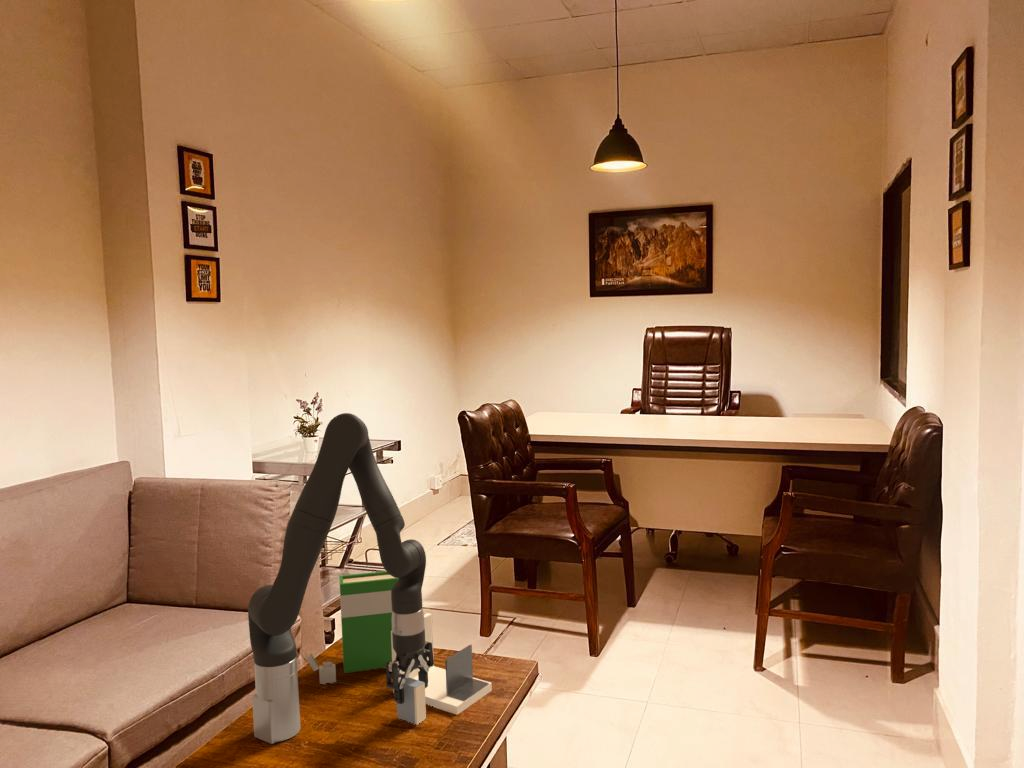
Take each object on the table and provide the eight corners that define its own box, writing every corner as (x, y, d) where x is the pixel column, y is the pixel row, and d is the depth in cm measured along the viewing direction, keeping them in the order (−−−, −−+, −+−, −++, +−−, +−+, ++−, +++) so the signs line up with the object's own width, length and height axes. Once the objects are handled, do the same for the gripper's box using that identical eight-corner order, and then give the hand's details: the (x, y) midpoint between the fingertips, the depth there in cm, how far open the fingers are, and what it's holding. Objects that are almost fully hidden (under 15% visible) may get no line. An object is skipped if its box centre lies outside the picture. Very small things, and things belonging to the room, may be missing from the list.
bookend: (464, 701, 188) (463, 664, 187) (446, 695, 191) (445, 659, 190) (489, 684, 196) (487, 649, 195) (471, 679, 199) (470, 644, 198)
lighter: (336, 679, 205) (334, 649, 205) (336, 682, 204) (334, 652, 203) (307, 683, 204) (306, 653, 203) (307, 686, 202) (306, 656, 201)
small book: (417, 725, 181) (415, 687, 180) (397, 718, 184) (395, 681, 184) (426, 719, 184) (424, 682, 183) (406, 712, 187) (404, 676, 186)
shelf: (457, 714, 185) (455, 648, 184) (393, 694, 197) (390, 631, 195) (491, 690, 197) (490, 628, 196) (429, 672, 208) (427, 612, 207)
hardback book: (408, 653, 220) (404, 569, 218) (411, 664, 213) (407, 577, 211) (343, 661, 216) (339, 575, 214) (344, 673, 209) (340, 584, 207)
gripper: (400, 642, 175) (404, 712, 177) (440, 619, 187) (443, 685, 189) (375, 635, 179) (379, 704, 181) (415, 614, 191) (418, 678, 193)
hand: (411, 694), depth 185 cm, fingers open, 8 cm apart
